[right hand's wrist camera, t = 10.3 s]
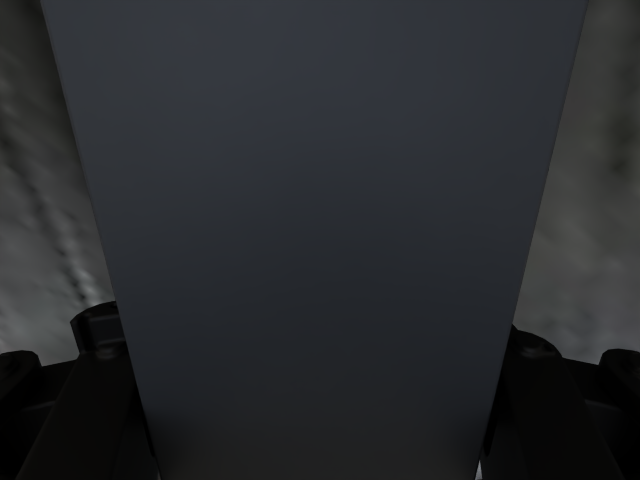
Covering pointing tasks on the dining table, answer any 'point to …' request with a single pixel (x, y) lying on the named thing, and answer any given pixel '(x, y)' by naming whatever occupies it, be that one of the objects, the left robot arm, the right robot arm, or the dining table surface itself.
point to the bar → (316, 218)
